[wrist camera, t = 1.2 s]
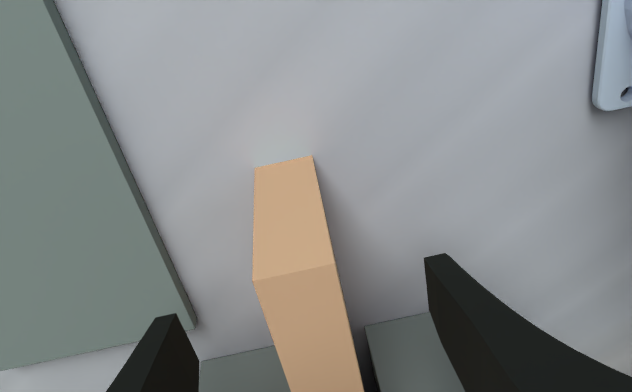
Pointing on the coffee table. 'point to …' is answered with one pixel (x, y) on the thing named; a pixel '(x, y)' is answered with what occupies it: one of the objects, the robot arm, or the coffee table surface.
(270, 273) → the tall tan wooden post
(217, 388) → the dispenser
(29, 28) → the slate mat
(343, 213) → the coffee table surface
